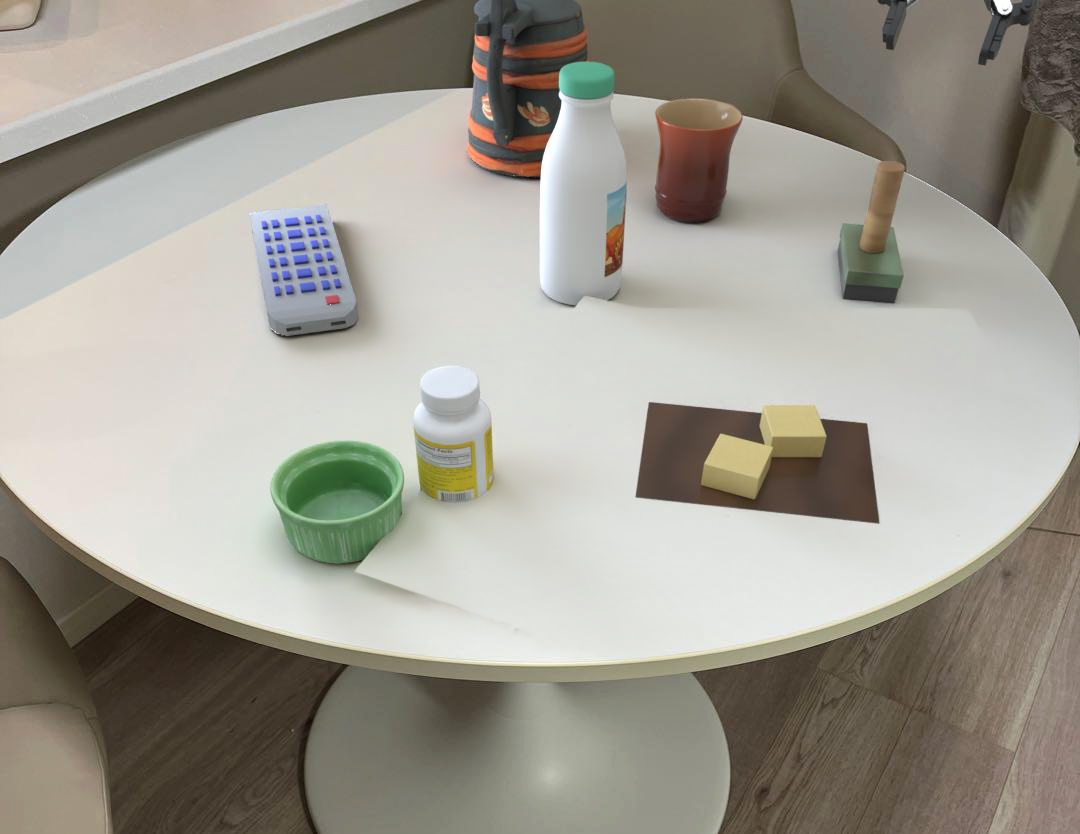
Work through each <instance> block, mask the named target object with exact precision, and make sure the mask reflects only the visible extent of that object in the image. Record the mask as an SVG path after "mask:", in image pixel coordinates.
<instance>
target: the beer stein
mask: <svg viewBox="0 0 1080 834" xmlns="http://www.w3.org/2000/svg"><path fill="white" fill-rule="evenodd" d="M473 11H474V14H475V15H476V16H477V17H478V21H476V22H475V23H474V45H473V55H472V64H471V69H472V72H473V84H472V85H473V86H472V100H471V109H470V111H469V113H468V119H467V126H468V128H467V134H468V139H467V144H468V145H467V151H466V152H467V154H468V156H469V158H470V159H471V158H472V160H473V161H475V162H476V163H477V164H479V165H480V166H481V167H483V168H482V169H484V168H485V169H484V170H486V169H488V170H487V171H489V170H490V171H489V172H491V171H493V172H492V173H495V172H498V173H497V174H500V173H502V174H501V175H504V174H506V175H505V176H509V175H511V176H510V177H512V176H513V175H515V176H513V177H517V176H516V175H519V176H518V177H521V176H522V177H524V176H525V177H524V178H529V177H535V178H536V177H537V178H541V168H542V160H543V156H544V152H545V149H546V146H547V144H548V141H549V139H550V137H551V135H552V133H553V131H554V128H555V126H556V123H557V121H558V118H559V114H560V110H561V104H562V100H561V99H560V97H559V92H560V89H559V73H560V70H561V68H563V67H564V66H565V65H568V64H571V63H575V62H590V58H589V52H588V29H587V26H586V25H585V24H584V17H583V11H582V7H581V5H580V3H578V2H577V1H576V0H478V1H477V2H475V4H474V7H473ZM472 160H471V161H472ZM473 161H472V162H473ZM477 164H476V165H477ZM480 166H479V167H480ZM481 167H480V168H481Z"/></svg>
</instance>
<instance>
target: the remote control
mask: <svg viewBox="0 0 1080 834" xmlns="http://www.w3.org/2000/svg"><path fill="white" fill-rule="evenodd" d="M249 219H250V224H251V230H252V236H253V242H254V248H255V253H256V258H257V265H258V270H259V275H260V282H261V287H262V293H263V296H264V302H265V307H266V312H267V320H268V324H269V328H270V327H271V328H272V329H273V330H274V331H276V333H279V334H281V335H280V336H284V335H285V337H290V336H295V335H304V334H311V333H319V332H327V331H334V330H335V331H336V330H342V329H347V328H350V327H352V326H354V325H356V323H357V321H358V320H359V309H358V304H357V299H356V295H355V292H354V289H353V285H352V283H351V280H350V276H349V272H348V270H347V266H346V265H347V264H346V263H345V259H344V256H343V252H342V249H341V247H340V243H339V240H338V236H337V233H336V229H335V227H334V223H333V220H332V217H331V213H330V209H329V207H328V204H317V205H308V206H300V207H291V208H281V209H271V210H263V211H254V212H249ZM330 304H331V305H330ZM276 333H275V334H276ZM282 334H283V335H282Z"/></svg>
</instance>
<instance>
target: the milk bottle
mask: <svg viewBox="0 0 1080 834" xmlns="http://www.w3.org/2000/svg"><path fill="white" fill-rule="evenodd" d="M615 76H616V75H615V71H614V69H613V68H612V67H611V66H610V65H608V64H605V63H601V62H597V61H589V62H575V63H571V64H568V65H565V66H564V67H563V68H561V70H560V73H559V89H560V92H559V97H560V99H561V100H562V104H561V110H560V114H559V118H558V121H557V123H556V126H555V128H554V131H553V133H552V135H551V137H550V139H549V141H548V144H547V146H546V149H545V152H544V156H543V160H542V168H541V177H540V188H539V285H540V287H541V289H542V291H543V292H544V294H545V295H546V296H547V297H548V298H549V299H552V300H553V301H556V302H558V303H561V304H565V305H571V306H577V305H578V304H579V303H580V302H581V301H582V299H583V298H584V297H585V296H586V297H589V298H594V299H598V300H602V301H609V300H610V299H612V298H613V297H615V296H616V294H617V293H618V292H619V290H620V288H621V284H622V275H623V259H624V243H625V242H624V241H625V229H626V228H625V226H626V207H627V185H628V184H627V182H628V181H627V179H628V177H627V176H628V172H627V171H628V170H627V169H628V168H627V160H626V159H627V158H626V154H625V150H624V146H623V144H622V141H621V139H620V136H619V134H618V131H617V129H616V126H615V125H616V124H615V123H614V122H615V121H614V118H613V114H612V113H613V112H612V108H611V105H612V104H611V102H612V100H613V99H614V97H615V94H614V89H615V80H616V77H615Z"/></svg>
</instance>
